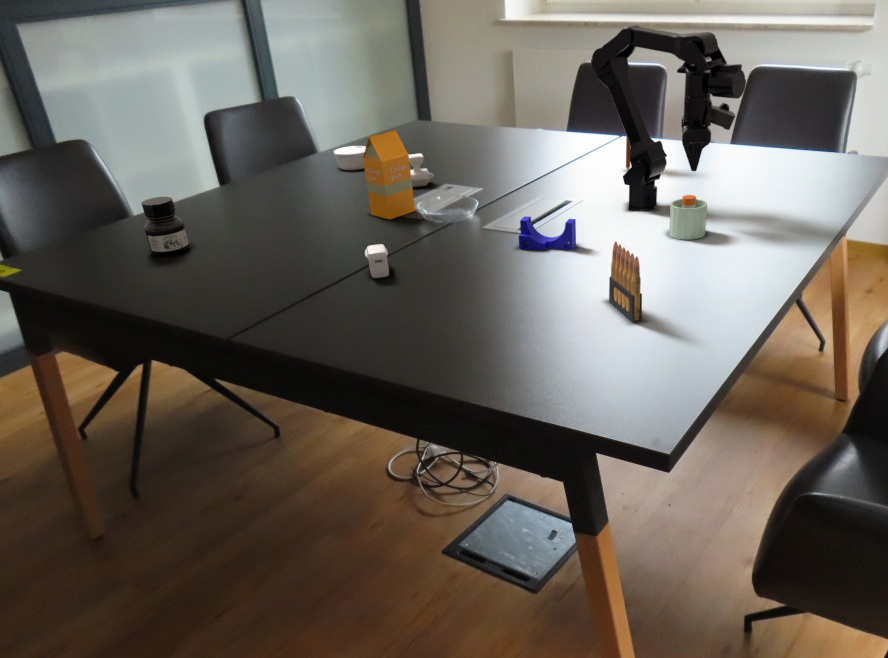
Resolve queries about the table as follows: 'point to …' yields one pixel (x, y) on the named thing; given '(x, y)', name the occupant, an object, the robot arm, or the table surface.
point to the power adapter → (377, 260)
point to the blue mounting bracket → (539, 242)
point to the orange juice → (388, 176)
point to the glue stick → (688, 201)
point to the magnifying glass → (627, 154)
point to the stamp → (419, 171)
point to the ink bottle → (164, 227)
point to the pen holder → (688, 220)
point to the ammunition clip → (625, 284)
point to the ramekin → (350, 157)
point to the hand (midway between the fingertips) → (693, 165)
